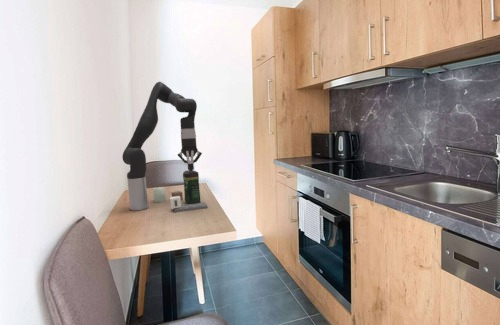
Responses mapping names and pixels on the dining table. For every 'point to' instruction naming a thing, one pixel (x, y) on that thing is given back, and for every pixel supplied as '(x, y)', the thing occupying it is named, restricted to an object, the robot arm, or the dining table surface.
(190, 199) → the coffee jar
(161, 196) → the pale green rounded block
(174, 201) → the counting knob
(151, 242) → the dining table surface
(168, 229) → the dining table surface
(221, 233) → the dining table surface
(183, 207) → the counting rail
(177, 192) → the walnut block
